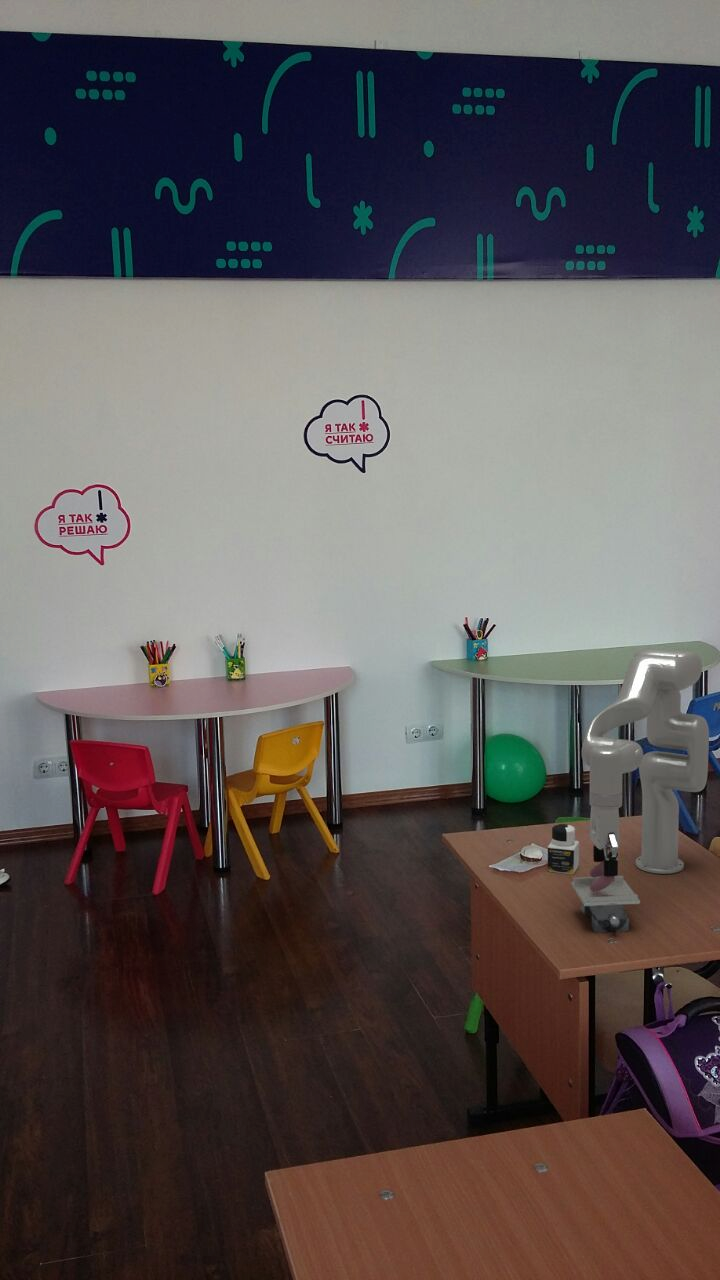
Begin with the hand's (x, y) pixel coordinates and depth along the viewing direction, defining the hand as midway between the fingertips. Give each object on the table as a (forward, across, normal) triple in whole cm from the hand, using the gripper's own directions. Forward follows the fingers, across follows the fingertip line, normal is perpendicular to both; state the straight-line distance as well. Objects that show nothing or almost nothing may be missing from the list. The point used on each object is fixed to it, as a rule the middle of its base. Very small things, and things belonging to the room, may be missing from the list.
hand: (605, 868), depth 263 cm
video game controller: (+4, 0, -1) cm, 4 cm away
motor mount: (+13, +2, 0) cm, 13 cm away
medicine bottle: (+13, -35, -2) cm, 37 cm away
